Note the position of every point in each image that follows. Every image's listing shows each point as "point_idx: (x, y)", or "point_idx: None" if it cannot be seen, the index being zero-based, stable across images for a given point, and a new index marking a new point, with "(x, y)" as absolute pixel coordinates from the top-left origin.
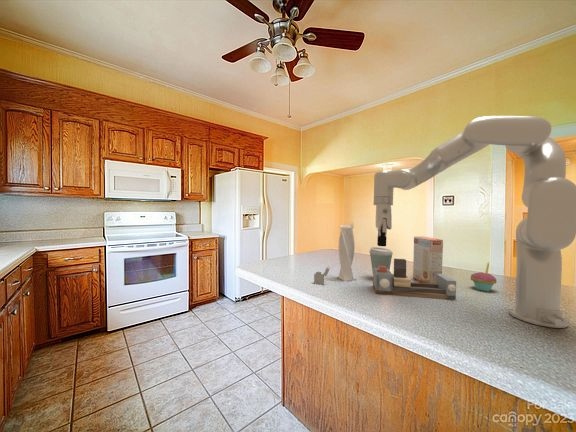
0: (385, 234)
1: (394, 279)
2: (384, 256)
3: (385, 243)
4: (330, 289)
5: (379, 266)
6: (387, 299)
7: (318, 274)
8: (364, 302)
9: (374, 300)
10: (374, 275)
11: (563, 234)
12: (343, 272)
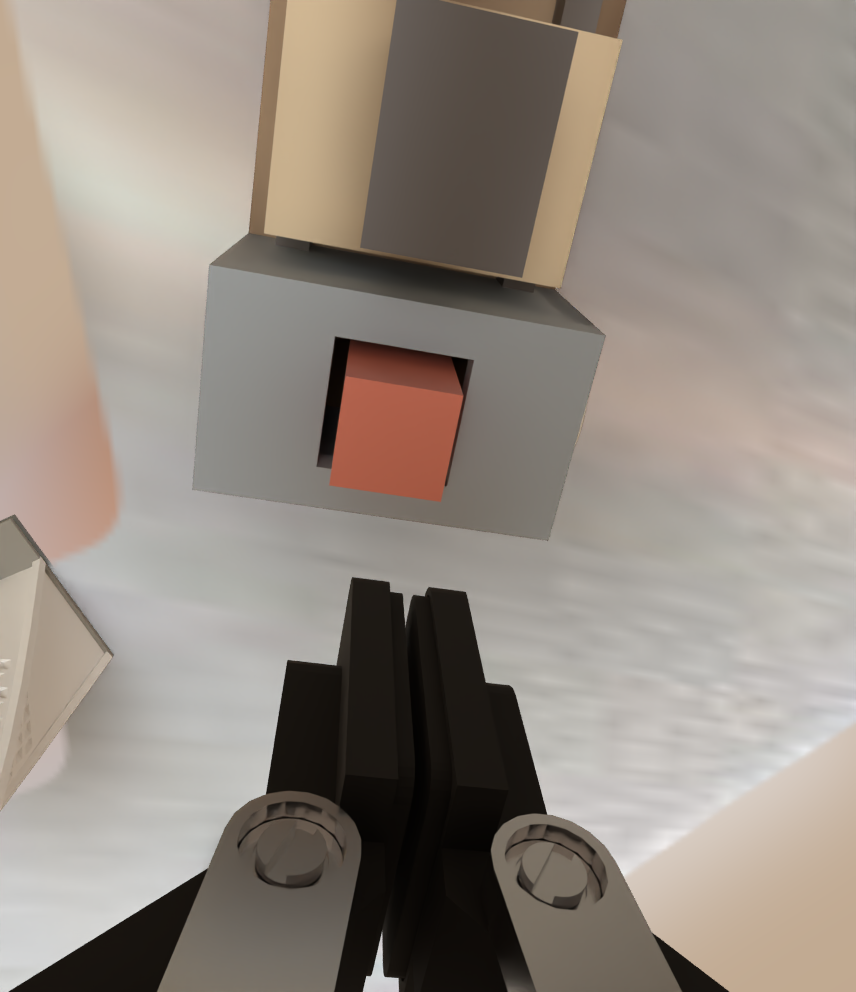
0: (624, 936)
1: (559, 281)
2: None
3: (465, 646)
4: None
5: (407, 492)
6: (667, 384)
7: None
8: (717, 600)
9: (681, 510)
10: None
11: None
12: (46, 728)
